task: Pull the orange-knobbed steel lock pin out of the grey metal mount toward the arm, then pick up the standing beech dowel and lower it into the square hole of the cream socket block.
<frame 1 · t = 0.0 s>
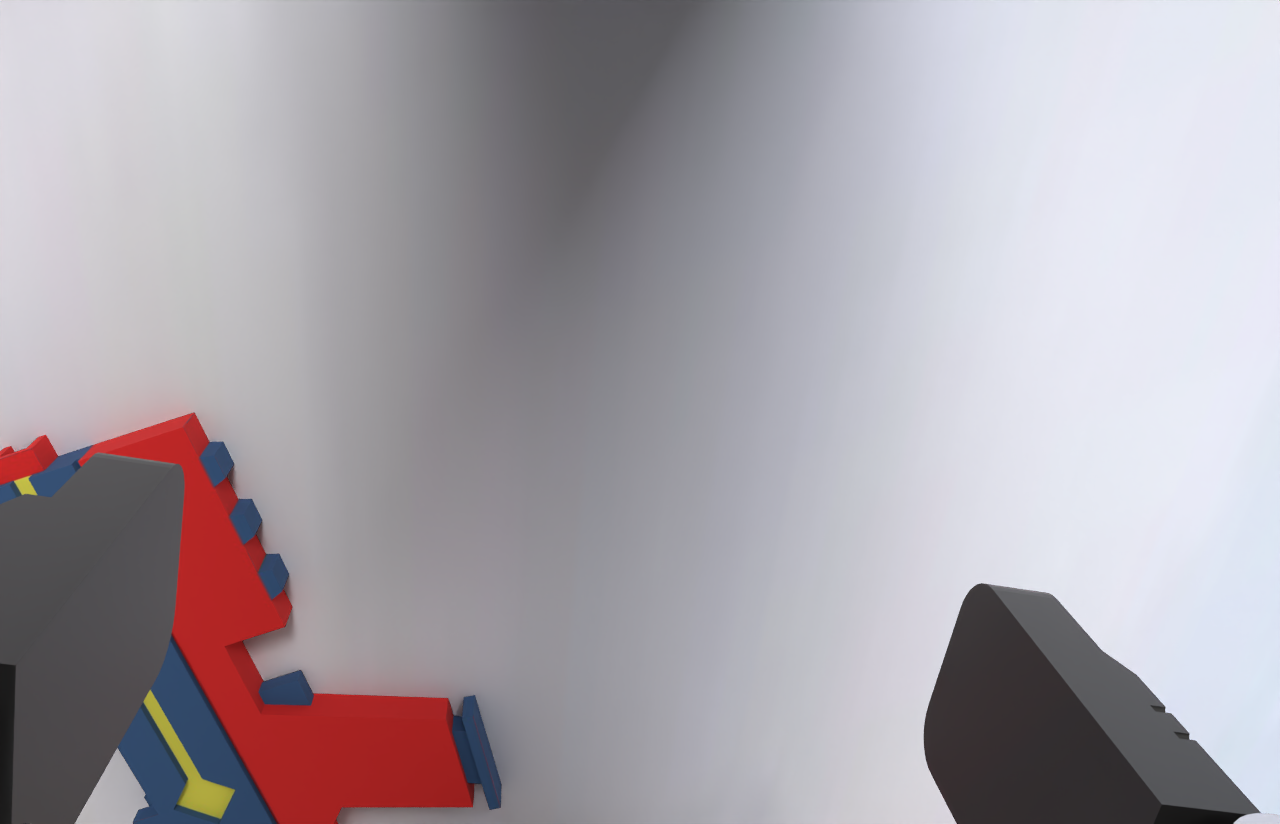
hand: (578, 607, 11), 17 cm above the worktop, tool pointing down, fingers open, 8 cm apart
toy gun: (260, 628, 31), on the worktop
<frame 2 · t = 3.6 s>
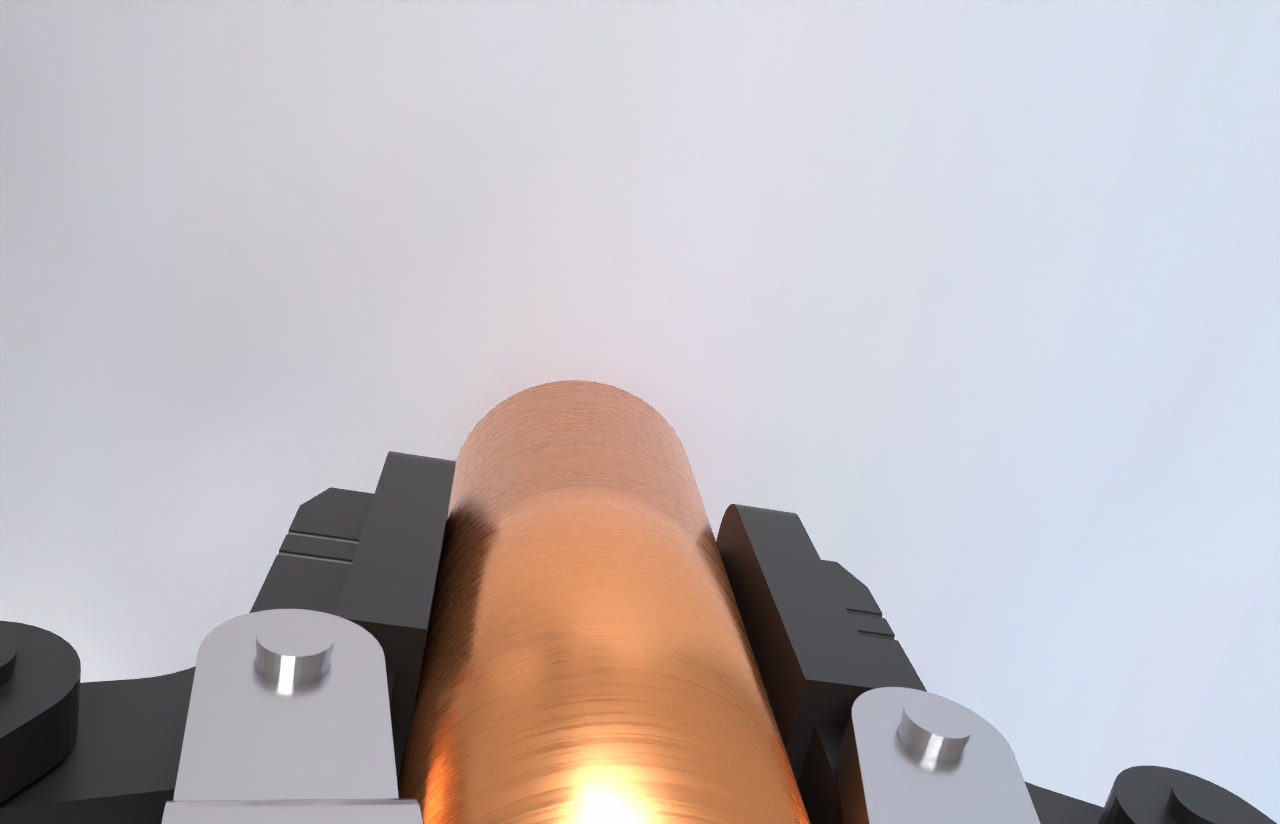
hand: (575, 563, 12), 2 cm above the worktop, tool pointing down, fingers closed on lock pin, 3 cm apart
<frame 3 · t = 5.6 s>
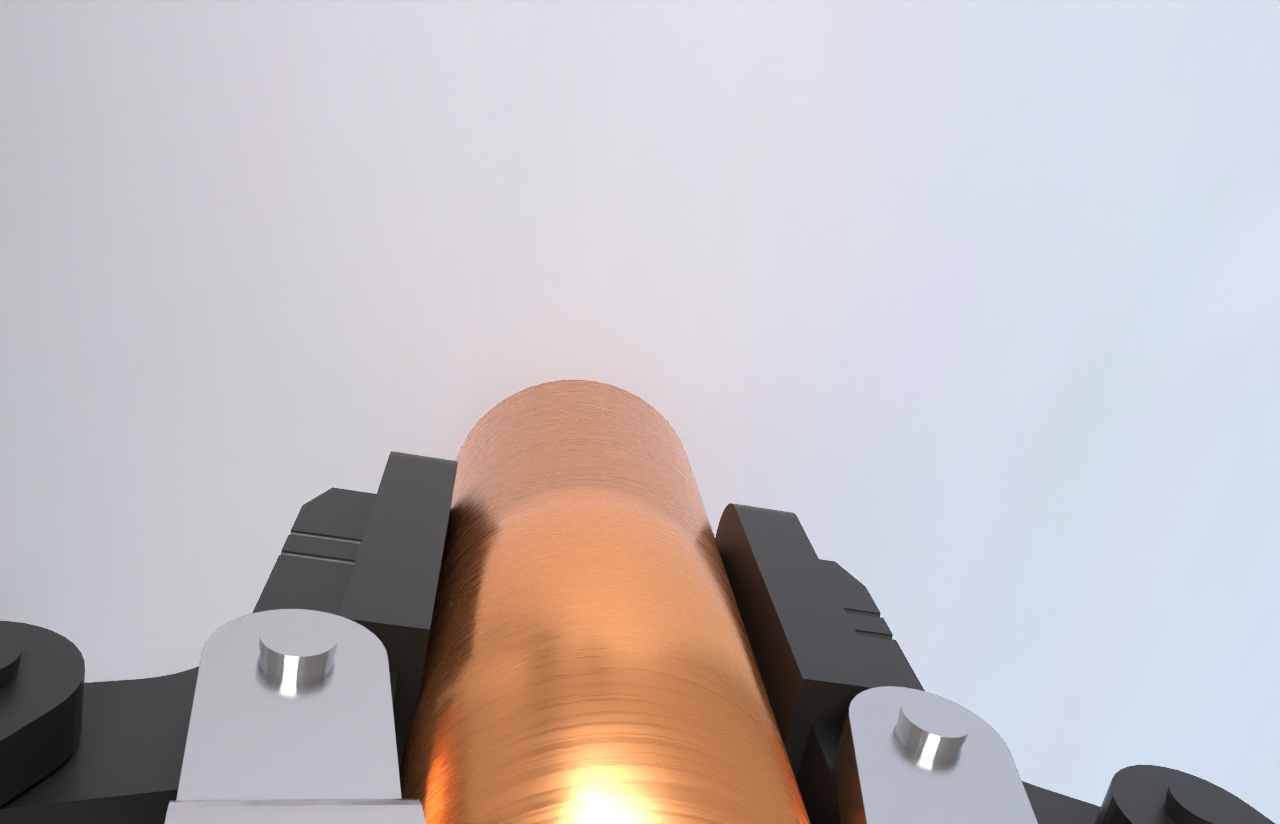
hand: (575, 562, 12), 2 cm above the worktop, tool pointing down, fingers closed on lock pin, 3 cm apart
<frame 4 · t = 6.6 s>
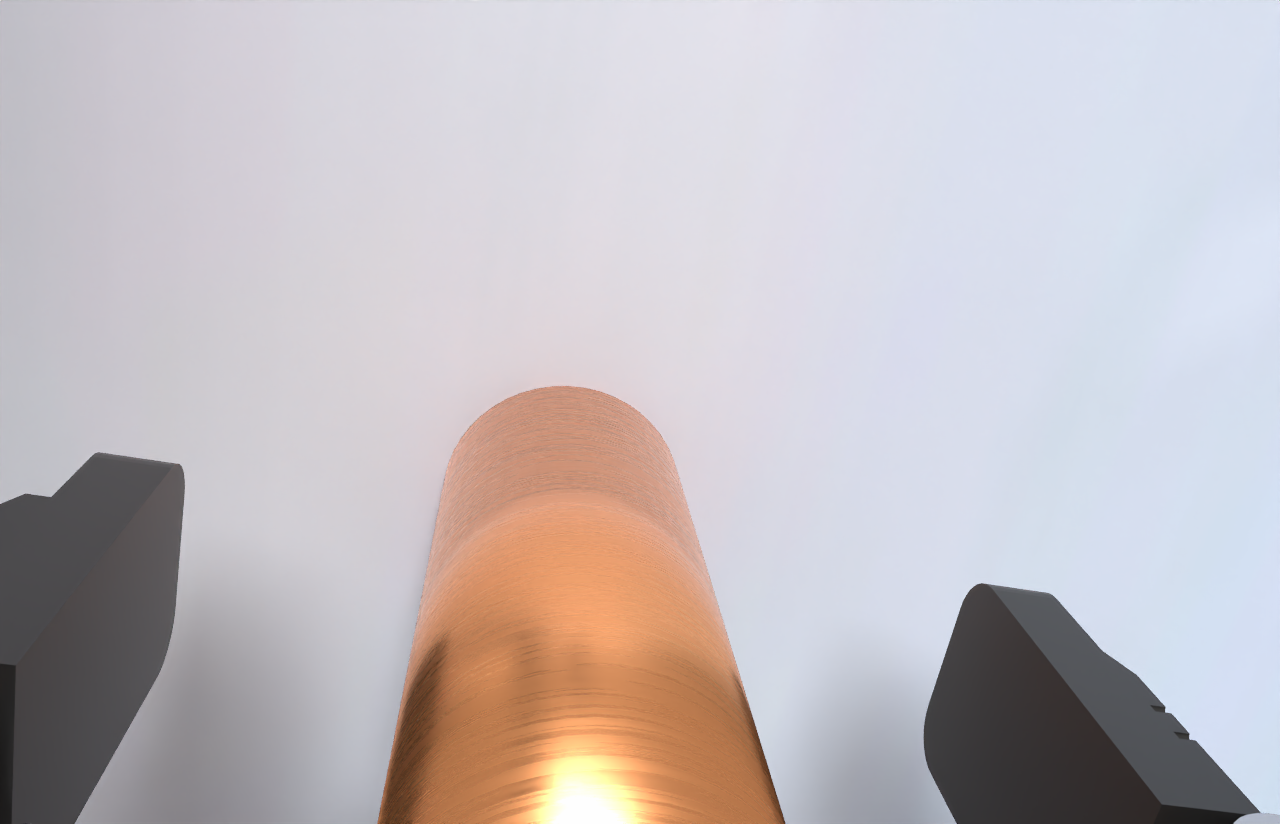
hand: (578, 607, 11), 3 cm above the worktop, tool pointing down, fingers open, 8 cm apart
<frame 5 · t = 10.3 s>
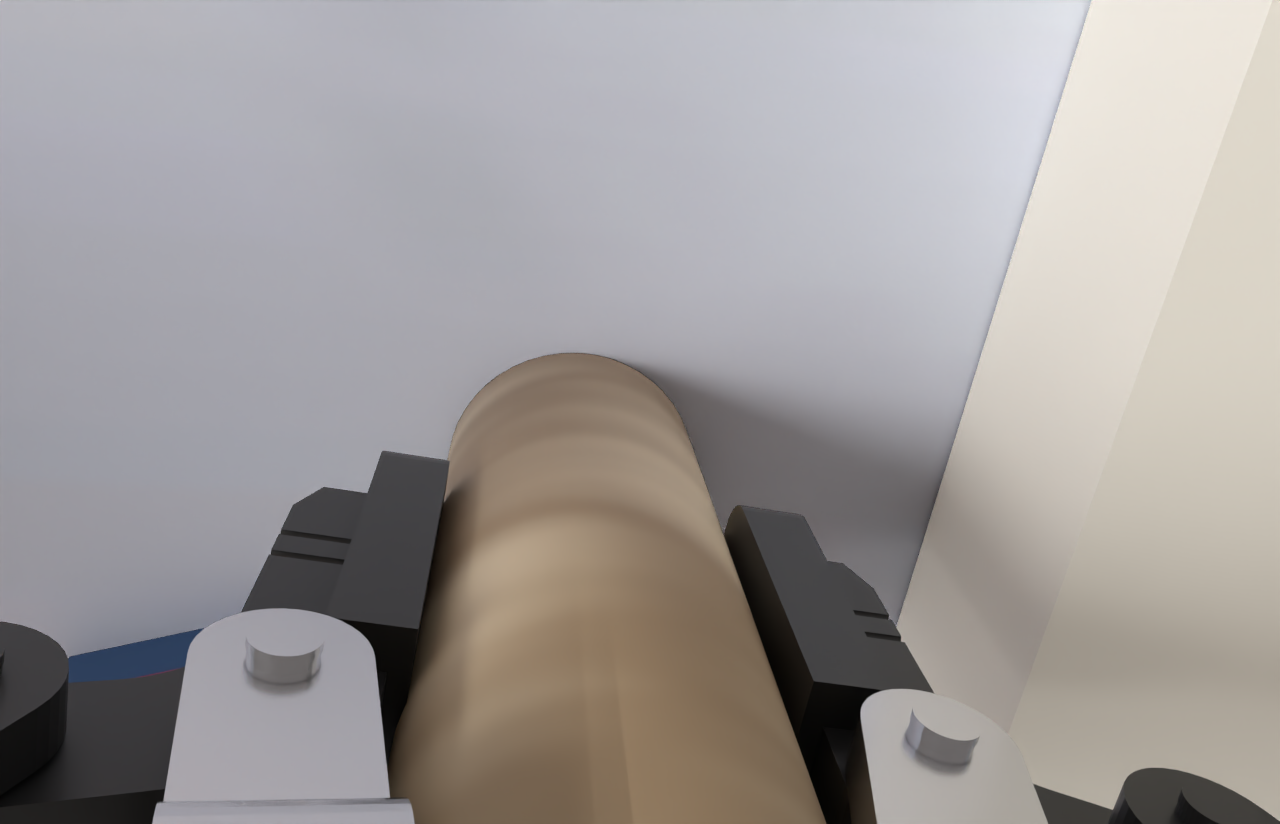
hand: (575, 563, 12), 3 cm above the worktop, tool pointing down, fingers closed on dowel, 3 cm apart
dowel: (571, 469, 15), on the worktop, touching gripper
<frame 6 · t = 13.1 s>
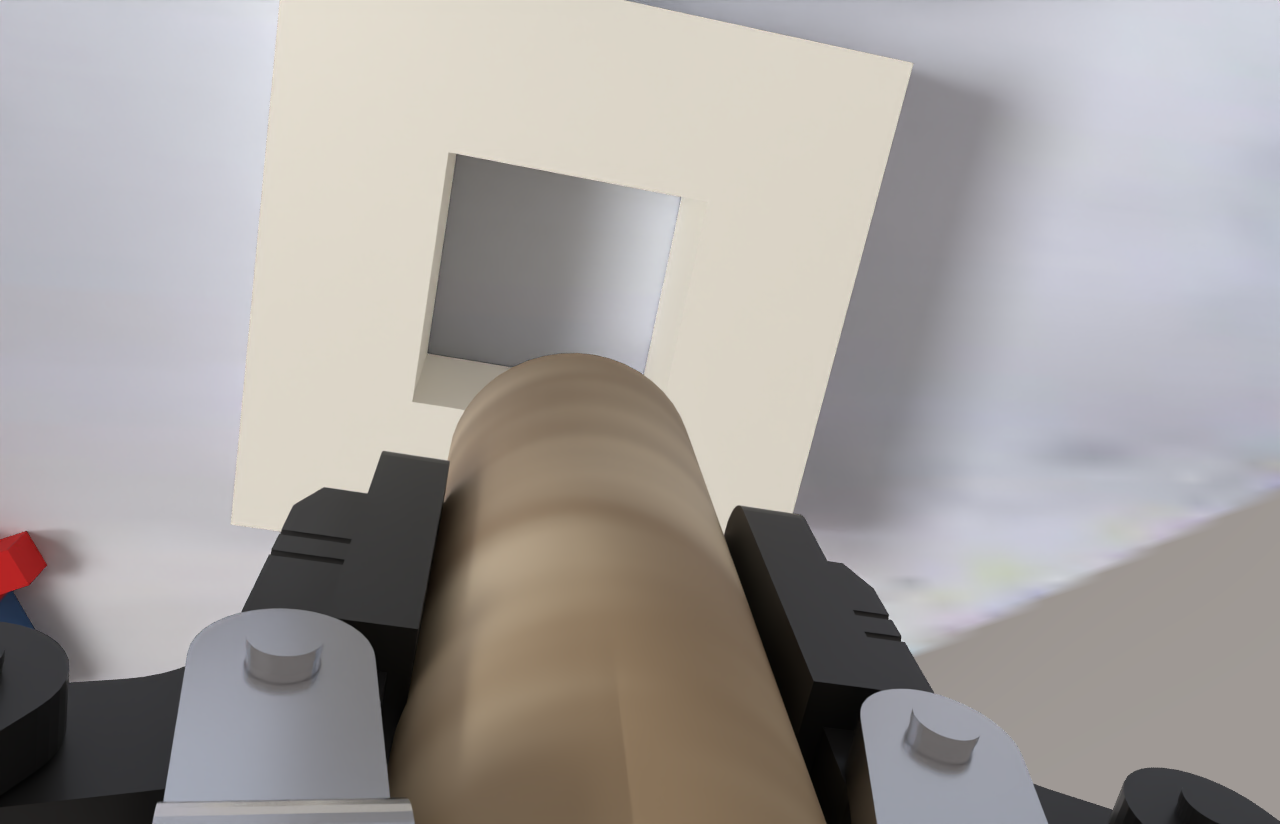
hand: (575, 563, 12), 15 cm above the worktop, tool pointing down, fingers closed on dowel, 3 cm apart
socket block: (554, 266, 26), on the worktop
dowel: (571, 469, 15), point 12 cm above the worktop, touching gripper
when the fingers open (5 cm above the worktop, at t = 15.6 s): dowel drops 2 cm, resting in socket block.
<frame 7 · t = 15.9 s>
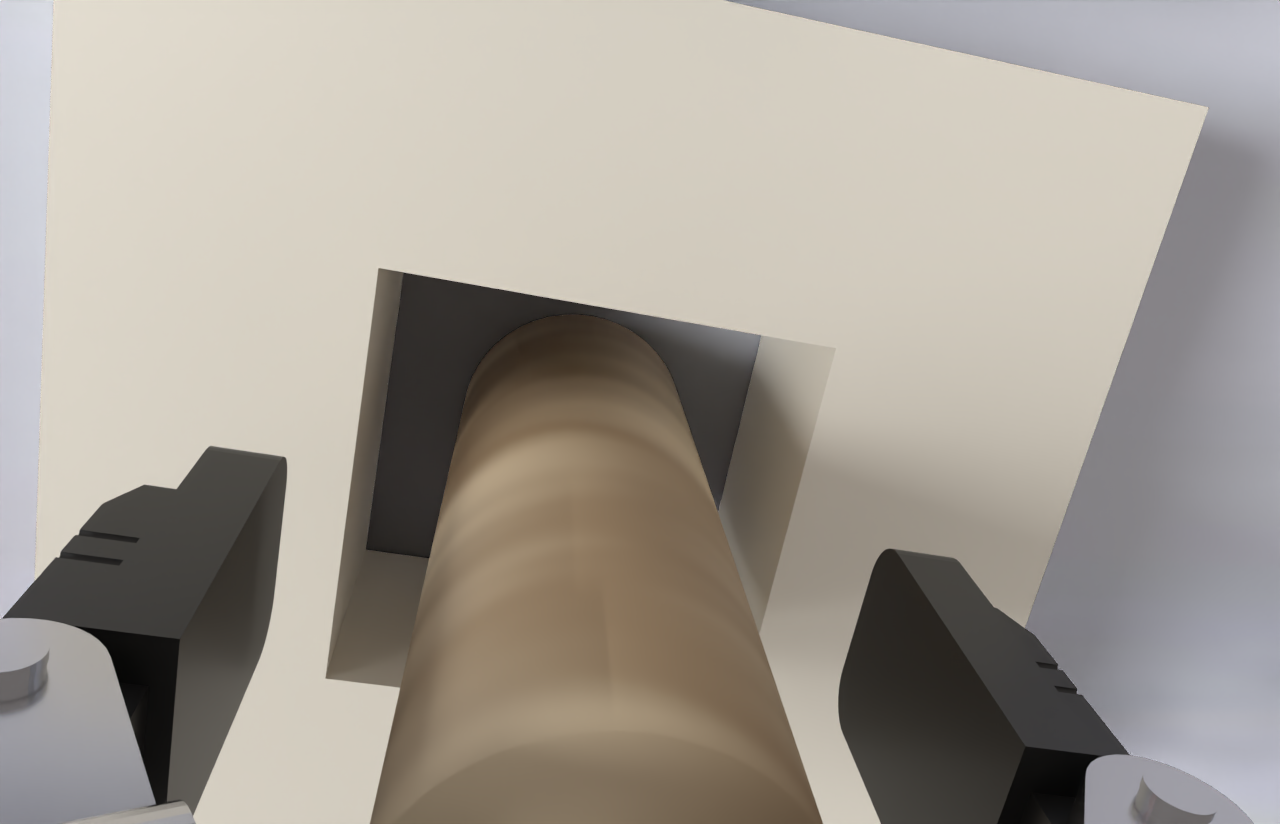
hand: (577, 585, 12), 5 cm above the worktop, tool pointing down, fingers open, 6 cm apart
socket block: (565, 417, 17), on the worktop
dowel: (572, 419, 17), resting in socket block
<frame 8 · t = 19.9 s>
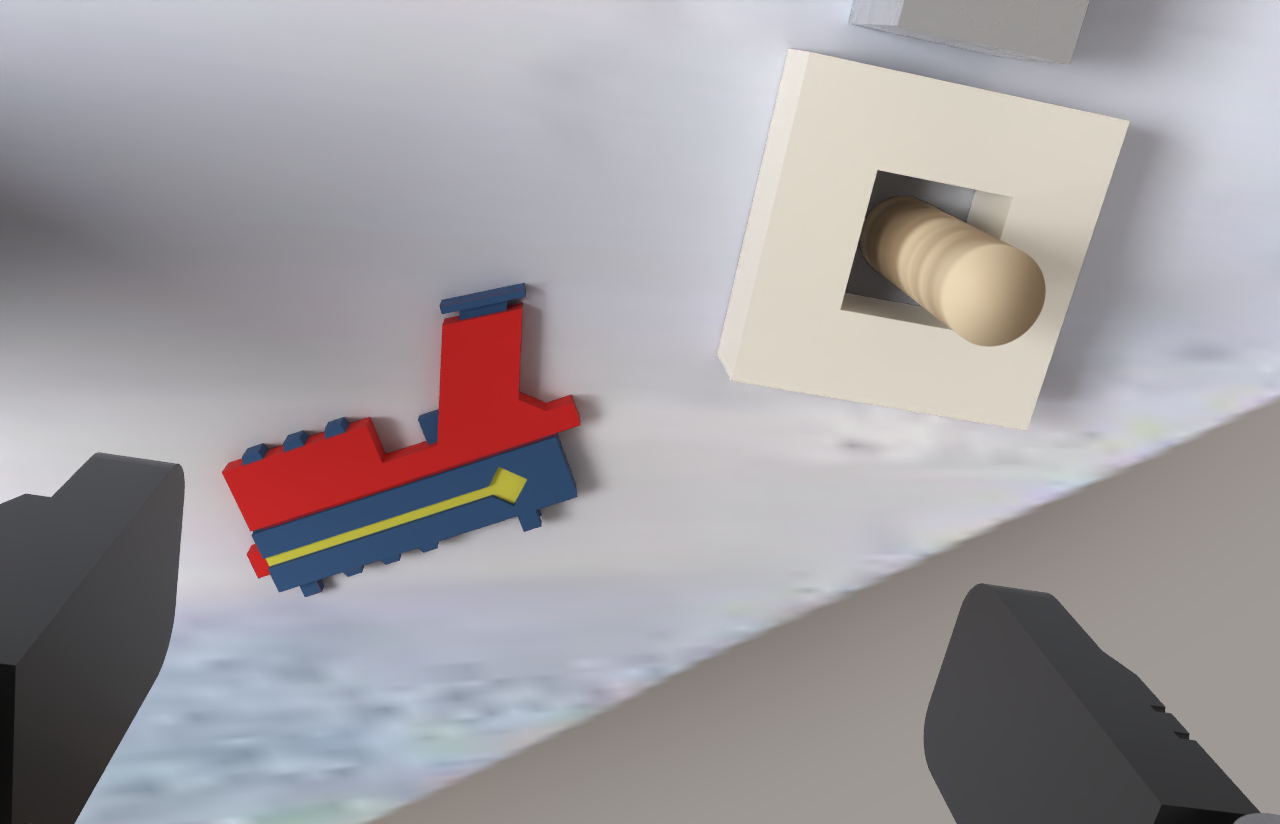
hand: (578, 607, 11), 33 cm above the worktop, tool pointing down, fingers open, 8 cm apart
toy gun: (400, 436, 46), on the worktop
socket block: (896, 235, 44), on the worktop
dowel: (899, 236, 45), resting in socket block
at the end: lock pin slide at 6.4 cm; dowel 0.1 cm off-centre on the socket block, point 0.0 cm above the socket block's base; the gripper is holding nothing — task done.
